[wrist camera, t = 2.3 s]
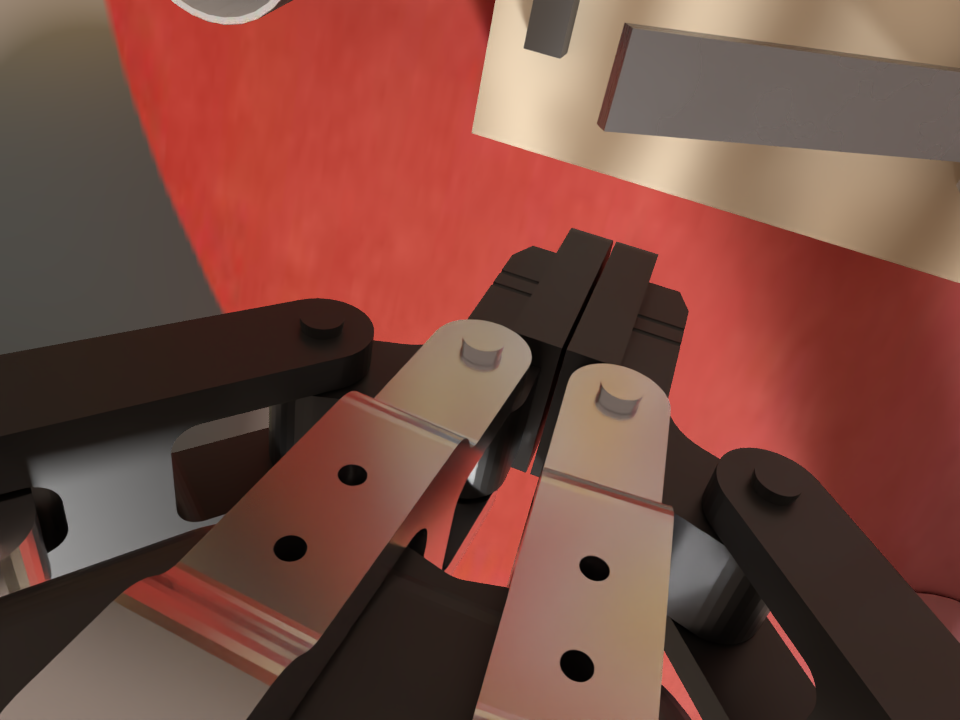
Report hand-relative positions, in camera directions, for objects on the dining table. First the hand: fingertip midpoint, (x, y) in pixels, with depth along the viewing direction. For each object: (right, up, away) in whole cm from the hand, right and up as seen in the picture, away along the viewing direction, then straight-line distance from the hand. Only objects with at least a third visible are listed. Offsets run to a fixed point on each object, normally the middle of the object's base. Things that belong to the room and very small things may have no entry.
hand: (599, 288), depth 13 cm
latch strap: (+9, +7, +13) cm, 17 cm away
